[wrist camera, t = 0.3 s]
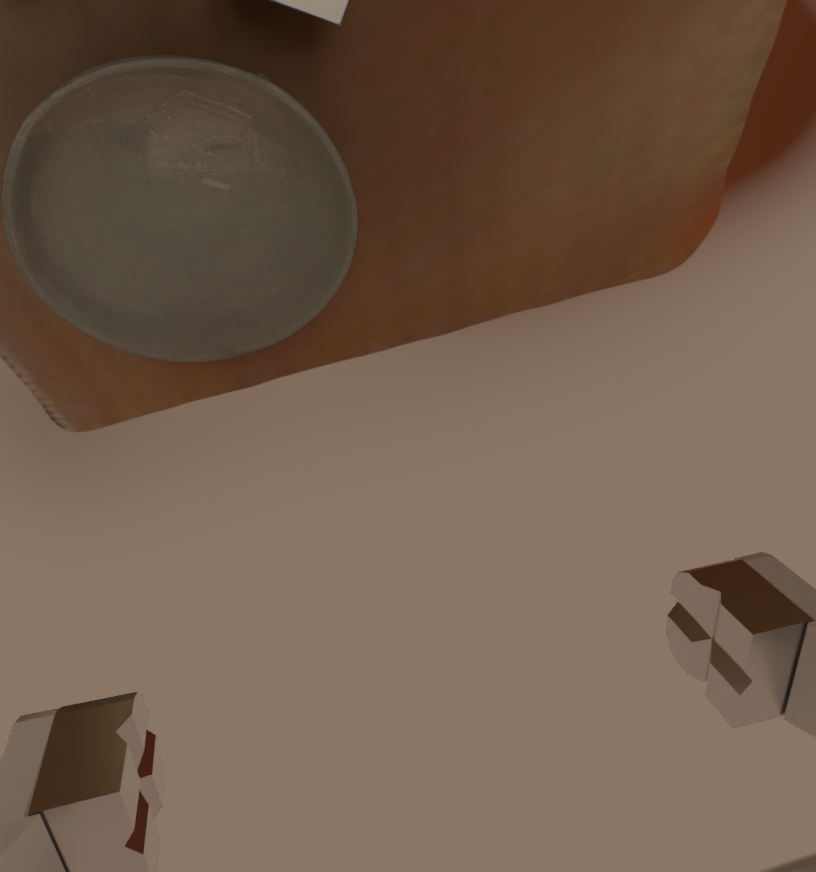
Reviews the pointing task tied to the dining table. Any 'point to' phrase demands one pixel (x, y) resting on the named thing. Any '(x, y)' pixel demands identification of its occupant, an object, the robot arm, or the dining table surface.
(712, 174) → the dining table surface
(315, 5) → the medicine box
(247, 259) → the bowl
